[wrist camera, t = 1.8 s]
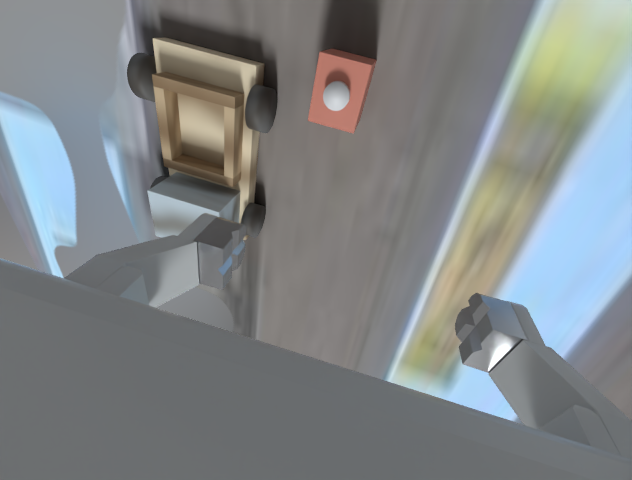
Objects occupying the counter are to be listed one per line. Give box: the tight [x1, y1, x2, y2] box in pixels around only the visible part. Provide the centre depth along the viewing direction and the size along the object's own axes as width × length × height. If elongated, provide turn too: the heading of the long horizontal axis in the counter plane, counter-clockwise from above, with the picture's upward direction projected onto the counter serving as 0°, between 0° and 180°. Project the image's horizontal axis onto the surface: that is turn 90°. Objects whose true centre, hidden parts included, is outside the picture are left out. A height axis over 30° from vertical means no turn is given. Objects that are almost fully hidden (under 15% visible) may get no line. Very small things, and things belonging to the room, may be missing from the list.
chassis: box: [127, 38, 277, 240], centre depth 31 cm, size 20×13×7 cm, turn 169°
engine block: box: [308, 48, 376, 133], centre depth 25 cm, size 5×4×6 cm
